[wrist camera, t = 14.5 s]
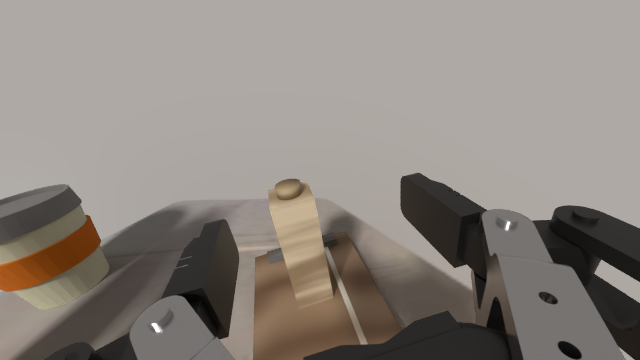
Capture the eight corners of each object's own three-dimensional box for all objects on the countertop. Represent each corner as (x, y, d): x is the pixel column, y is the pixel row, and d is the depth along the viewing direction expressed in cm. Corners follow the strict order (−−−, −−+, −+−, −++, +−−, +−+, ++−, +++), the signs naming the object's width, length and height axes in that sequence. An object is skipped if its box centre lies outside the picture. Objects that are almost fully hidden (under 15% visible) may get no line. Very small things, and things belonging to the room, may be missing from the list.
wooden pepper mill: (333, 297, 26) (312, 188, 20) (299, 308, 26) (266, 199, 20) (324, 271, 30) (304, 171, 24) (294, 281, 29) (265, 181, 23)
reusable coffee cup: (55, 326, 31) (-35, 235, 24) (-4, 317, 34) (-97, 235, 28) (139, 256, 42) (91, 181, 35) (89, 254, 45) (37, 185, 39)
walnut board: (576, 656, 10) (596, 653, 9) (254, 874, 8) (232, 903, 7) (346, 239, 37) (344, 226, 36) (258, 264, 35) (253, 252, 34)
